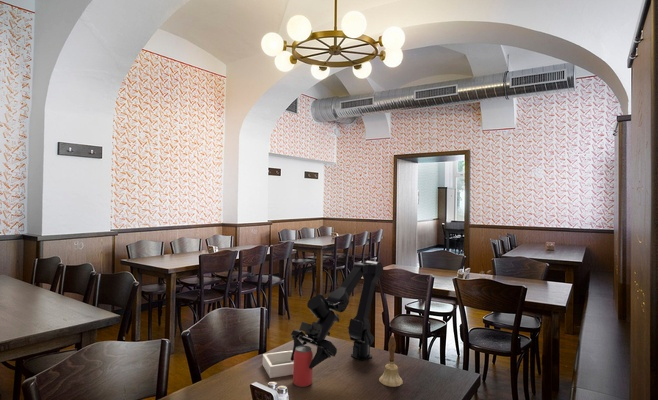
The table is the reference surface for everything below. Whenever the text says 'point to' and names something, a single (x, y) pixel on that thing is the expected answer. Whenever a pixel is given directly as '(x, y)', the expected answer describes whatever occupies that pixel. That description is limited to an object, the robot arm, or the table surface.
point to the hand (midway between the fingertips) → (300, 364)
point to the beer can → (302, 366)
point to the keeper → (280, 368)
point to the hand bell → (391, 368)
